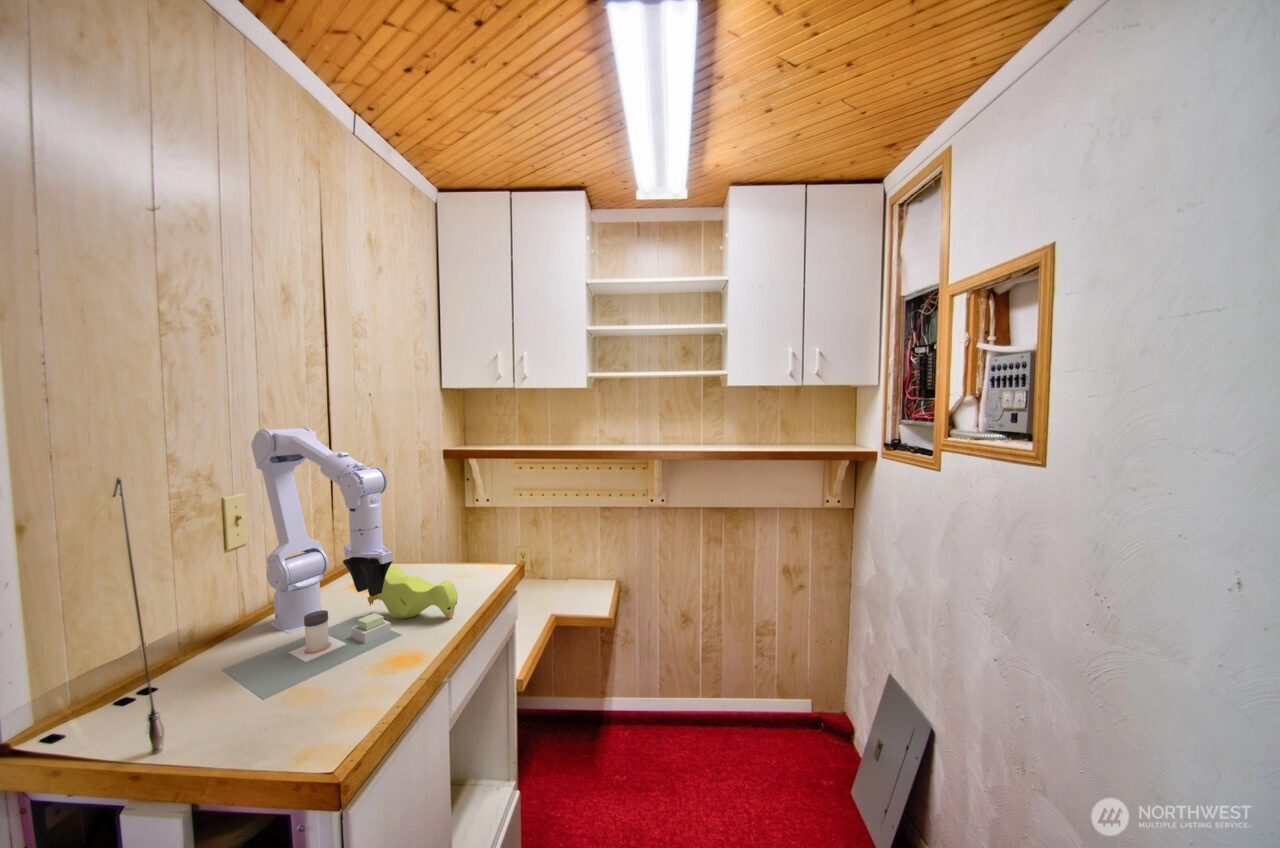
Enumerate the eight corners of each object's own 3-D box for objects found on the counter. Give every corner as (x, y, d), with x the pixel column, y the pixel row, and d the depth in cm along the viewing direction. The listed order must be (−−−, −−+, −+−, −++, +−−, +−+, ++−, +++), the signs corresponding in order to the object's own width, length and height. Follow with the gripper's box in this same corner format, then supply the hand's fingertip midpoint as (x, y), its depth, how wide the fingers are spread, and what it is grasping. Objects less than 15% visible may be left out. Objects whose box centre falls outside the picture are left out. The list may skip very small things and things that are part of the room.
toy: (379, 647, 98) (452, 621, 94) (354, 578, 99) (426, 549, 95) (399, 633, 104) (469, 608, 100) (376, 568, 105) (444, 541, 101)
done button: (358, 631, 90) (357, 619, 90) (375, 624, 93) (374, 613, 93) (367, 635, 88) (366, 623, 88) (384, 628, 91) (383, 616, 91)
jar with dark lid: (302, 650, 85) (300, 616, 85) (324, 641, 88) (322, 608, 88) (311, 655, 83) (309, 620, 83) (333, 645, 86) (331, 612, 86)
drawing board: (221, 672, 79) (220, 658, 79) (356, 618, 99) (355, 607, 99) (263, 702, 70) (262, 687, 70) (402, 637, 90) (401, 625, 90)
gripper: (326, 528, 90) (330, 593, 90) (364, 536, 83) (368, 606, 83) (362, 520, 96) (365, 581, 96) (401, 527, 89) (404, 593, 89)
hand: (369, 592), depth 90 cm, fingers open, 4 cm apart
